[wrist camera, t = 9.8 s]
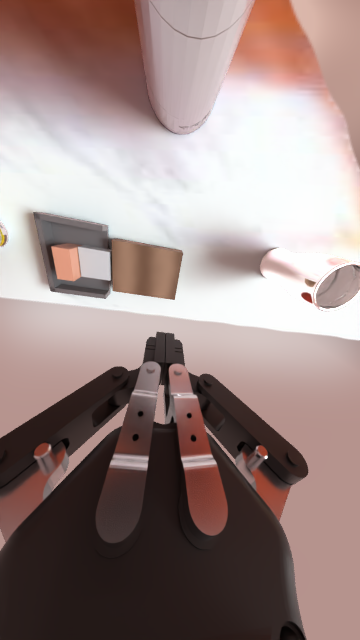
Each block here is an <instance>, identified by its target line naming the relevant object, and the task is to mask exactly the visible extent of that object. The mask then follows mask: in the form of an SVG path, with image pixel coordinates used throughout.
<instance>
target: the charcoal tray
mask: <svg viewBox="0 0 360 640" xmlns="http://www.w3.org/2000/svg"><path fill="white" fill-rule="evenodd" d="M33 213H34V218H35V222H36V227H37V231H38V236H39V240H40V245H41V249H42V254H43V259H44V263H45V268H46V272H47V277H48V281H49V286H50V290H51V291H52V292H59V293H67V294H74V295H82V296H89V297H96V298H104V299H106V298H107V296H108V295H109V294H110V281H109V280H102V279H95V278H88V277H82V276H81V277H80V278H78V279H77V280H75V281H69V280H62V279H57V274H56V269H55V264H54V258H53V253H52V248H51V246H56V245H61V244H66V243H71V244H77V245H87V246H93V247H99V248H104V249H109V237H108V225H103V224H98V223H93V222H88V221H83V220H78V219H73V218H68V217H62V216H57V215H52V214H47V213H37V212H33Z"/></svg>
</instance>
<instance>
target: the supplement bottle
mask: <svg viewBox="0 0 360 640" xmlns="http://www.w3.org/2000/svg"><path fill="white" fill-rule="evenodd" d="M7 242H8V232H7V230H6V228H5V226H4V225H3V223H2V222H1V221H0V247H3V246H4V245H6V244H7Z"/></svg>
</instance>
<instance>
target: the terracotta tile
mask: <svg viewBox="0 0 360 640" xmlns="http://www.w3.org/2000/svg"><path fill="white" fill-rule="evenodd" d="M79 246H82V245H77V244H71V243H66V244H61V245H56V246H51V248H52V253H53V258H54V264H55V269H56V274H57V279H62V280H69V281H75V280H77V279H78V278H80V277H81V270H80V261H79V253H78V247H79Z"/></svg>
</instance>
